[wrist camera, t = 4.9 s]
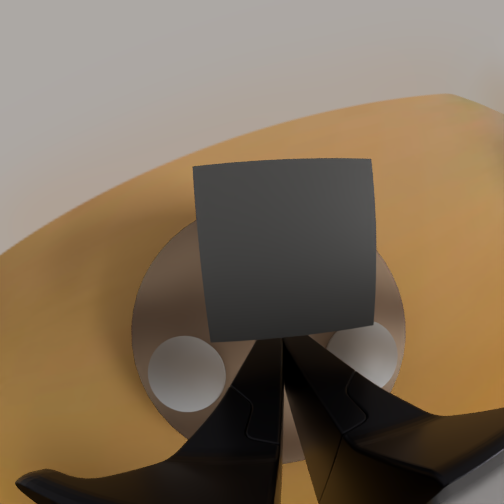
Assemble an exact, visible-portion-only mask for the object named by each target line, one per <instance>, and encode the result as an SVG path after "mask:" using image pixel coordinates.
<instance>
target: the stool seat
mask: <svg viewBox="0 0 504 504" xmlns="http://www.w3.org/2000/svg"><path fill="white" fill-rule="evenodd" d="M309 336H310V337H311V338H313V339H314V340H315V341H317V342H318V343H319V344H321V345H322V346H323V347H325V348H326V349H327V350H329V351H330V352H331V353H333V354H334V355H335V356H337V357H338V358H339V359H341V360H342V361H343V362H345V363H346V364H347V365H349V366H350V367H352V368H353V369H354V370H355V371H357V372H359V373H360V374H361V375H363V376H364V377H365V378H367V379H368V380H370V381H371V382H373V383H374V384H376V385H377V386H379V387H381V388H383V389H384V390H386V391H388V392H389V393H390V392H391V390H392V388H393V386H394V383H395V381H396V379H397V376H398V374H399V370H400V367H401V363H402V359H403V355H404V347H405V316H404V309H403V304H402V300H401V297H400V293H399V290H398V287H397V285H396V282H395V280H394V278H393V275H392V273H391V271H390V270H389V268H388V266H387V265H386V263H385V261H384V260H383V258H382V257H381V256H380V254H379V253H378V252H377V250H376V293H375V312H374V325H372V326H366V327H360V328H354V329H347V330H341V331H334V332H326V333H319V334H311V335H309ZM255 341H256V340H248V341H233V342H213V343H211V342H210V335H209V328H208V320H207V313H206V305H205V297H204V289H203V280H202V271H201V262H200V252H199V242H198V231H197V220H196V221H194V222H193V223H191V224H189V225H188V226H186V227H185V228H184V229H183V230H181V231H180V232H179V233H178V234H177V235H175V236H174V237H173V238H172V239H171V240H170V241H169V242H168V243H167V244H166V245H165V246H164V248H163V249H162V250H161V251H160V252H159V254H158V255H157V256H156V258H155V259H154V261H153V262H152V263H151V265H150V267H149V269H148V271H147V273H146V274H145V276H144V278H143V281H142V283H141V286H140V288H139V291H138V294H137V297H136V301H135V306H134V310H133V318H132V348H133V354H134V359H135V364H136V367H137V370H138V374H139V377H140V380H141V382H142V384H143V386H144V388H145V390H146V392H147V394H148V396H149V398H150V399H151V401H152V402H153V404H154V405H155V407H156V408H157V410H158V411H159V413H160V414H161V415H162V416H163V417H164V418H165V419H166V420H167V421H168V423H169V424H170V425H171V426H172V427H173V428H174V429H176V430H177V431H178V432H179V433H181V434H182V435H183V436H184V437H185V438H187V439H188V440H189V438H190V437H191V436H192V435H193V434H194V433H195V432H196V431H197V429H198V428H199V427H200V426H201V425H202V424H203V423H204V422H205V420H206V419H207V418H208V417H209V415H210V414H211V413H212V412H213V410H214V409H215V408H216V407H217V405H218V404H219V402H220V401H221V399H222V398H223V396H224V394H225V393H226V391H227V389H228V388H229V387H230V385H231V383H232V381H233V379H234V378H235V376H236V374H237V373H238V371H239V369H240V367H241V366H242V364H243V362H244V361H245V359H246V357H247V355H248V354H249V352H250V350H251V348H252V346H253V345H254V343H255ZM301 460H305V457H304V454H303V450H302V447H301V443H300V440H299V437H298V433H297V430H296V426H295V423H294V420H293V416H292V413H291V409H290V406H289V402H288V399H287V396H286V392H285V388H284V430H283V461H282V464H285V463H291V462H296V461H301Z"/></svg>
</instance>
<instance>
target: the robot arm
mask: <svg viewBox="0 0 504 504" xmlns="http://www.w3.org/2000/svg"><path fill="white" fill-rule="evenodd" d="M284 388H285V392H286V396H287V399H288V402H289V406H290V409H291V413H292V416H293V420H294V423H295V426H296V430H297V433H298V437H299V440H300V443H301V447H302V450H303V454H304V457H305V460H306V464H307V467H308V470H309V474H310V477H311V480H312V484H313V487H314V490H315V494H316V497H317V500H318V503H319V504H504V408H499V409H494V410H488V411H483V412H476V413H469V414H462V415H453V416H438V415H434V414H431V413H428V412H426V411H423V410H421V409H420V408H418V407H416V406H414V405H412V404H410V403H408V402H406V401H404V400H402V399H400V398H399V397H397V396H395V395H393V394H391V393H389V392H388V391H386V390H384V389H383V388H381V387H379V386H377V385H376V384H374V383H373V382H371V381H370V380H368V379H367V378H365V377H364V376H363V375H361V374H360V373H359V372H357V371H355V370H354V369H353V368H352V367H350V366H349V365H347V364H346V363H345V362H343V361H342V360H341V359H339V358H338V357H337V356H335V355H334V354H333V353H331V352H330V351H329V350H327V349H326V348H325V347H323V346H322V345H321V344H319V343H318V342H317V341H315V340H314V339H313V338H311V337H310V336H309V335H302V336H293V337H284V338H273V339H261V340H256V341H255V343H254V345H253V346H252V348H251V350H250V352H249V354H248V355H247V357H246V359H245V361H244V362H243V364H242V366H241V367H240V369H239V371H238V373H237V374H236V376H235V378H234V379H233V381H232V383H231V385H230V387H229V388H228V389H227V391H226V393H225V394H224V396H223V398H222V399H221V401H220V402H219V404H218V405H217V407H216V408H215V409H214V410H213V412H212V413H211V414H210V415H209V417H208V418H207V419H206V420H205V422H204V423H203V424H202V425H201V426H200V427H199V428H198V429H197V431H196V432H195V433H194V434H193V435H192V436H191V437H190V438H189V440H188V441H187V442H186V443H185V444H184V445H183V446H182V447H181V448H180V449H179V450H178V451H177V452H176V453H175V454H174V455H173V456H171V457H170V458H168V459H167V460H165V461H163V462H160V463H157V464H154V465H150V466H147V467H143V468H140V469H136V470H132V471H128V472H124V473H120V474H116V475H112V476H107V477H102V478H89V479H85V478H77V477H73V476H69V475H66V474H63V473H60V472H58V471H55V470H51V469H42V470H38V471H33V472H30V473H27V474H25V475H23V476H22V477H20V478H19V479H18V480H17V481H16V482H15V484H16V486H17V487H18V489H20V490H21V491H22V492H23V493H24V494H25V495H26V496H28V497H29V498H30V499H32V500H33V501H34V502H36V503H37V504H281V485H282V461H283V430H284Z"/></svg>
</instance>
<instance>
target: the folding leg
mask: <svg viewBox="0 0 504 504" xmlns="http://www.w3.org/2000/svg"><path fill="white" fill-rule="evenodd" d="M193 180H194V194H195V207H196V220H197V231H198V242H199V252H200V262H201V271H202V280H203V289H204V297H205V305H206V313H207V320H208V328H209V335H210V342H211V343H213V342H233V341H248V340H261V339H273V338H284V337H293V336H302V335H311V334H319V333H326V332H334V331H341V330H347V329H354V328H360V327H366V326H372V325H374V312H375V293H376V218H375V199H374V185H373V173H372V163H371V159H351V158H316V159H282V160H262V161H247V162H234V163H223V164H212V165H203V166H194V167H193Z"/></svg>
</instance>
